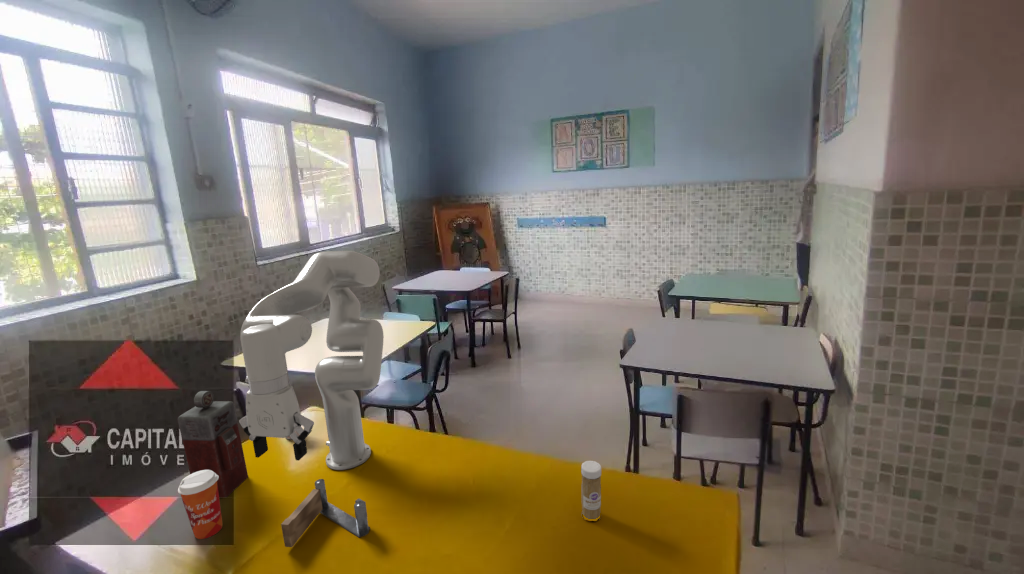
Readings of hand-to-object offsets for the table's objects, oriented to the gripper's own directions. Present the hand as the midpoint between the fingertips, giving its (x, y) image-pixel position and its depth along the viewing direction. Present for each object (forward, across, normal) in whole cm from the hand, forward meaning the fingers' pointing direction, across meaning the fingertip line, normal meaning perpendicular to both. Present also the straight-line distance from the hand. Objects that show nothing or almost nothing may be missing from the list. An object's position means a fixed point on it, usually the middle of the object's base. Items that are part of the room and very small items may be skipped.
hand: (281, 455), depth 98 cm
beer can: (+21, -29, +40) cm, 53 cm away
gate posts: (+21, +8, +7) cm, 24 cm away
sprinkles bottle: (+21, +67, +15) cm, 72 cm away
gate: (+20, +1, +2) cm, 20 cm away
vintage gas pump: (+21, -31, +14) cm, 40 cm away
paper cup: (+21, -22, 0) cm, 31 cm away
